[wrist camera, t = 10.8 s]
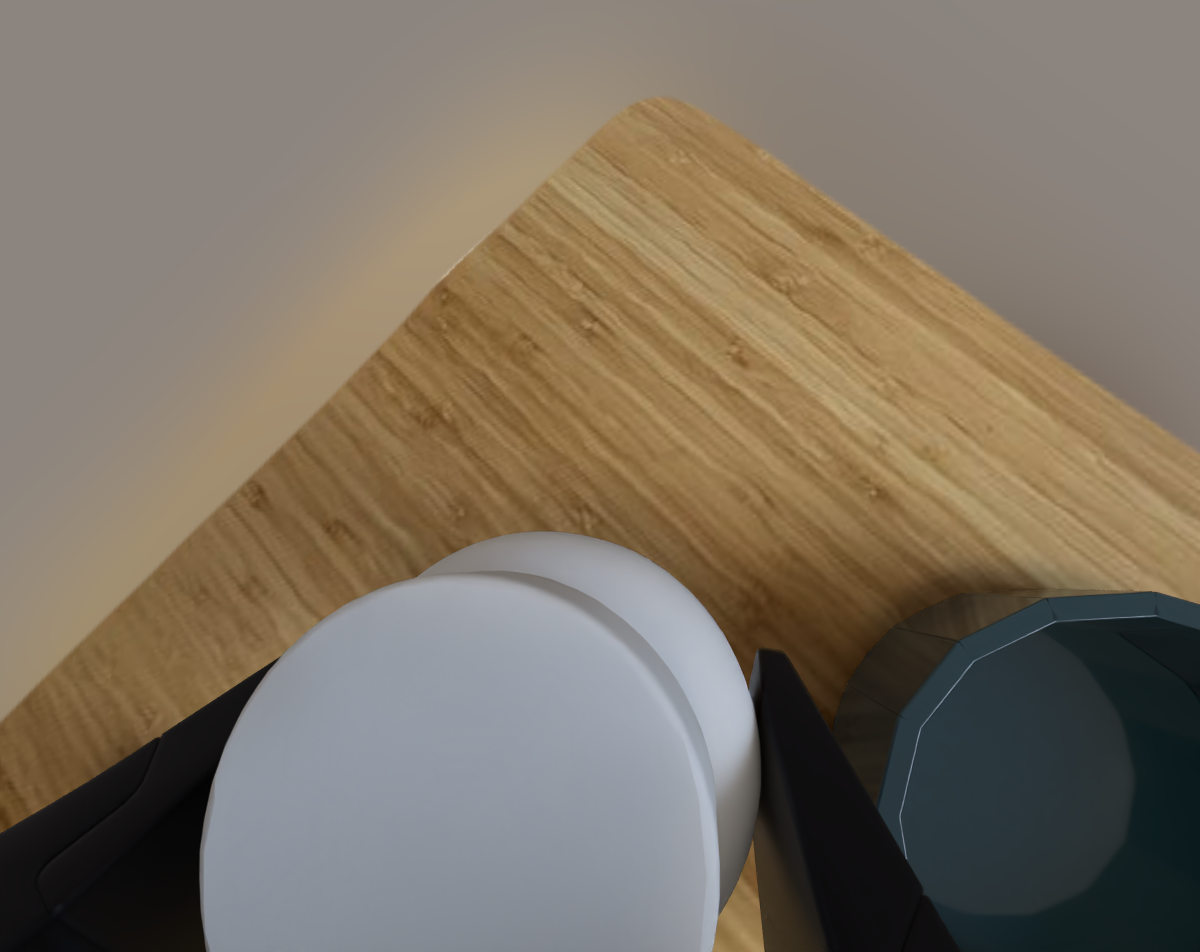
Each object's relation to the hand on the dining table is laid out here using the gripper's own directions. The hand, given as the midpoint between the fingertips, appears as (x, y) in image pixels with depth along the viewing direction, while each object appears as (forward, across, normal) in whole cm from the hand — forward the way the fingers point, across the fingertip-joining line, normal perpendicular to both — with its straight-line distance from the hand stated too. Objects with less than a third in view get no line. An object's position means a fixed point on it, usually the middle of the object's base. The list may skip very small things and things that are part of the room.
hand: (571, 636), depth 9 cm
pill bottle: (+4, 0, +6) cm, 7 cm away
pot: (+6, -15, +12) cm, 20 cm away
